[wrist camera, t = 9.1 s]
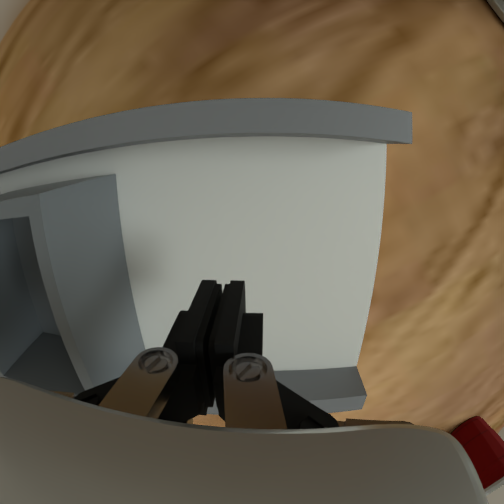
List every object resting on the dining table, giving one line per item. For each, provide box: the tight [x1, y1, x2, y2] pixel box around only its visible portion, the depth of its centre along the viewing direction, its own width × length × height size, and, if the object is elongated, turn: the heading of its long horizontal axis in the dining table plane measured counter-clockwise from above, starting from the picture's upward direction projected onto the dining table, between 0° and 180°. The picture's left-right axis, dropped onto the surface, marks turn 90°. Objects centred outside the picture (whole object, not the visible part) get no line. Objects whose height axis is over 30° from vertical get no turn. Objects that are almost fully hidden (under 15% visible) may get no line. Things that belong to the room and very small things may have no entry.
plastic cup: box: [451, 416, 504, 496], centre depth 19 cm, size 11×11×12 cm
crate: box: [0, 174, 145, 396], centre depth 14 cm, size 12×10×7 cm
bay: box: [0, 98, 412, 415], centre depth 16 cm, size 18×28×4 cm, turn 91°
